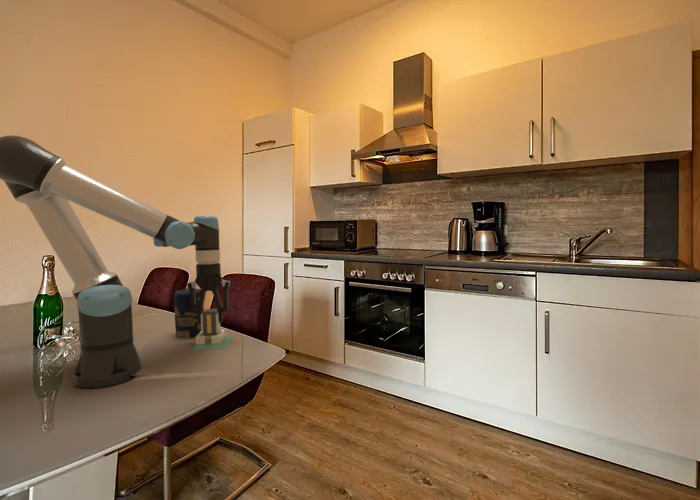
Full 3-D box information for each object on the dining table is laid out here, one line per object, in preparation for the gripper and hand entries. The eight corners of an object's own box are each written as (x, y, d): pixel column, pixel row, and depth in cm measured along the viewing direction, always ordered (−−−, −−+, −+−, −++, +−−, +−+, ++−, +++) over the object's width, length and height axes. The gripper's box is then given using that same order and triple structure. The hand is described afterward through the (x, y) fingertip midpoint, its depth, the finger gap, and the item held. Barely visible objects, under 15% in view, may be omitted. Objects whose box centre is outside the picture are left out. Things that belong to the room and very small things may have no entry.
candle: (197, 341, 125) (196, 289, 124) (170, 341, 126) (168, 289, 125) (209, 333, 135) (207, 285, 134) (183, 333, 135) (181, 285, 134)
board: (227, 351, 115) (227, 348, 115) (190, 353, 114) (190, 350, 114) (234, 339, 128) (234, 335, 128) (201, 340, 127) (201, 337, 126)
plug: (215, 335, 121) (214, 311, 120) (203, 336, 120) (202, 312, 120) (218, 331, 125) (217, 308, 125) (206, 332, 125) (205, 309, 124)
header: (220, 343, 120) (220, 335, 120) (195, 344, 119) (195, 337, 119) (224, 336, 127) (224, 329, 127) (201, 337, 126) (201, 330, 126)
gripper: (236, 261, 126) (239, 327, 128) (184, 262, 124) (187, 330, 126) (232, 263, 119) (235, 334, 120) (177, 264, 116) (180, 337, 118)
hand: (211, 332), depth 123 cm, fingers closed on plug, 4 cm apart
